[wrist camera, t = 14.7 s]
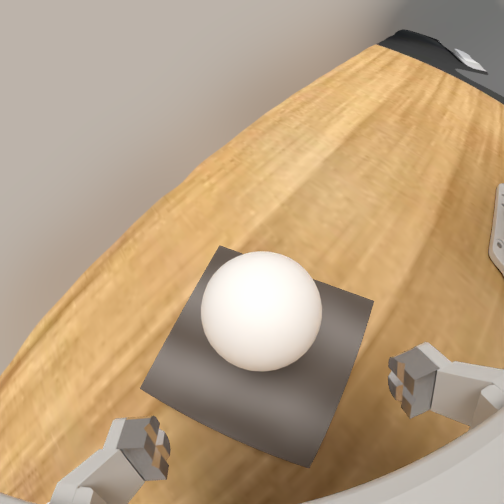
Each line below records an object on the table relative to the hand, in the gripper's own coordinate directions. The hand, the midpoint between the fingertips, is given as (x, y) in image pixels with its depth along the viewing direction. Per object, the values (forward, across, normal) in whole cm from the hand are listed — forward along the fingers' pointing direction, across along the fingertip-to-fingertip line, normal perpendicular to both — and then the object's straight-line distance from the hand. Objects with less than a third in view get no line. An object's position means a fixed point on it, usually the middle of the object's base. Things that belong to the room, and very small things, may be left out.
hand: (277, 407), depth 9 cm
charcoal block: (+16, 0, +9) cm, 18 cm away
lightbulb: (+12, 0, +5) cm, 14 cm away
